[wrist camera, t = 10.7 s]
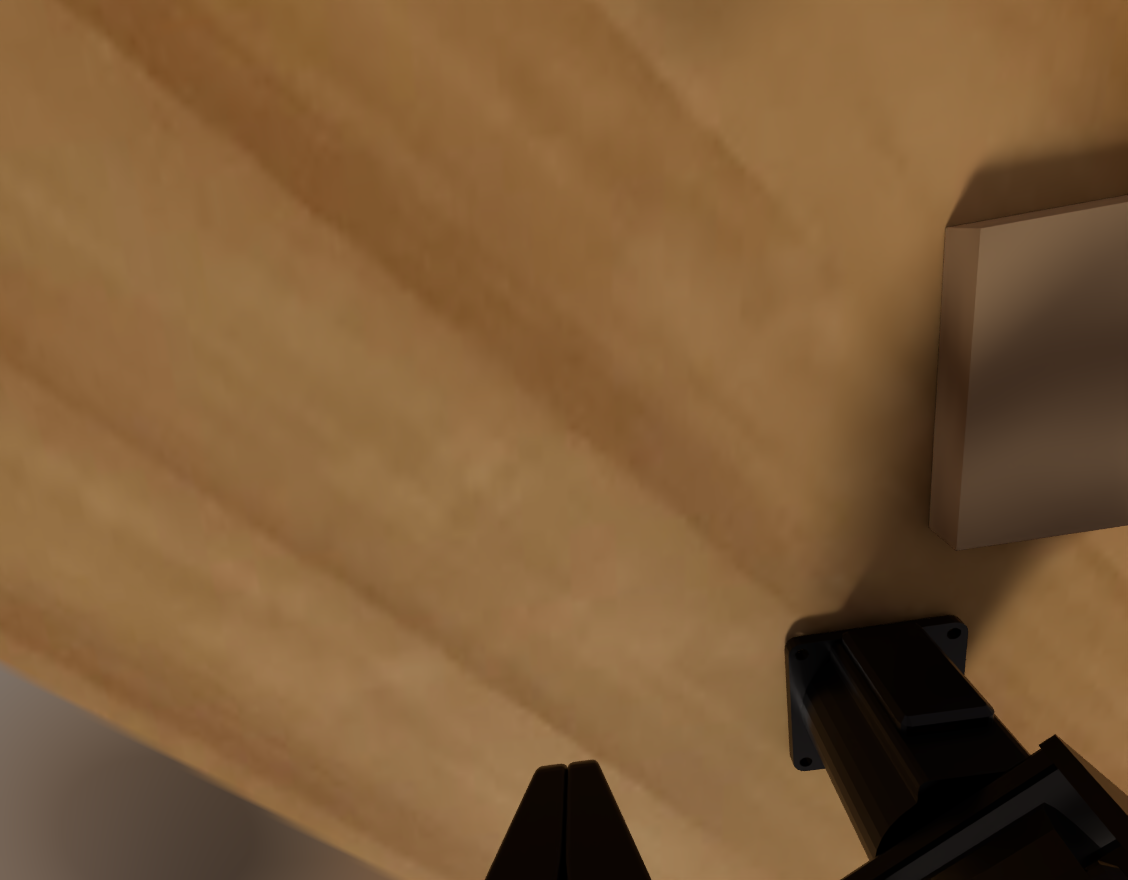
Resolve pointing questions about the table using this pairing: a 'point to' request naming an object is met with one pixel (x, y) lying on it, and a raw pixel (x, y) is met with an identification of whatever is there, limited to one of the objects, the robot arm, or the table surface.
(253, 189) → the table surface
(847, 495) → the table surface
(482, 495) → the table surface
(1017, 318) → the board
